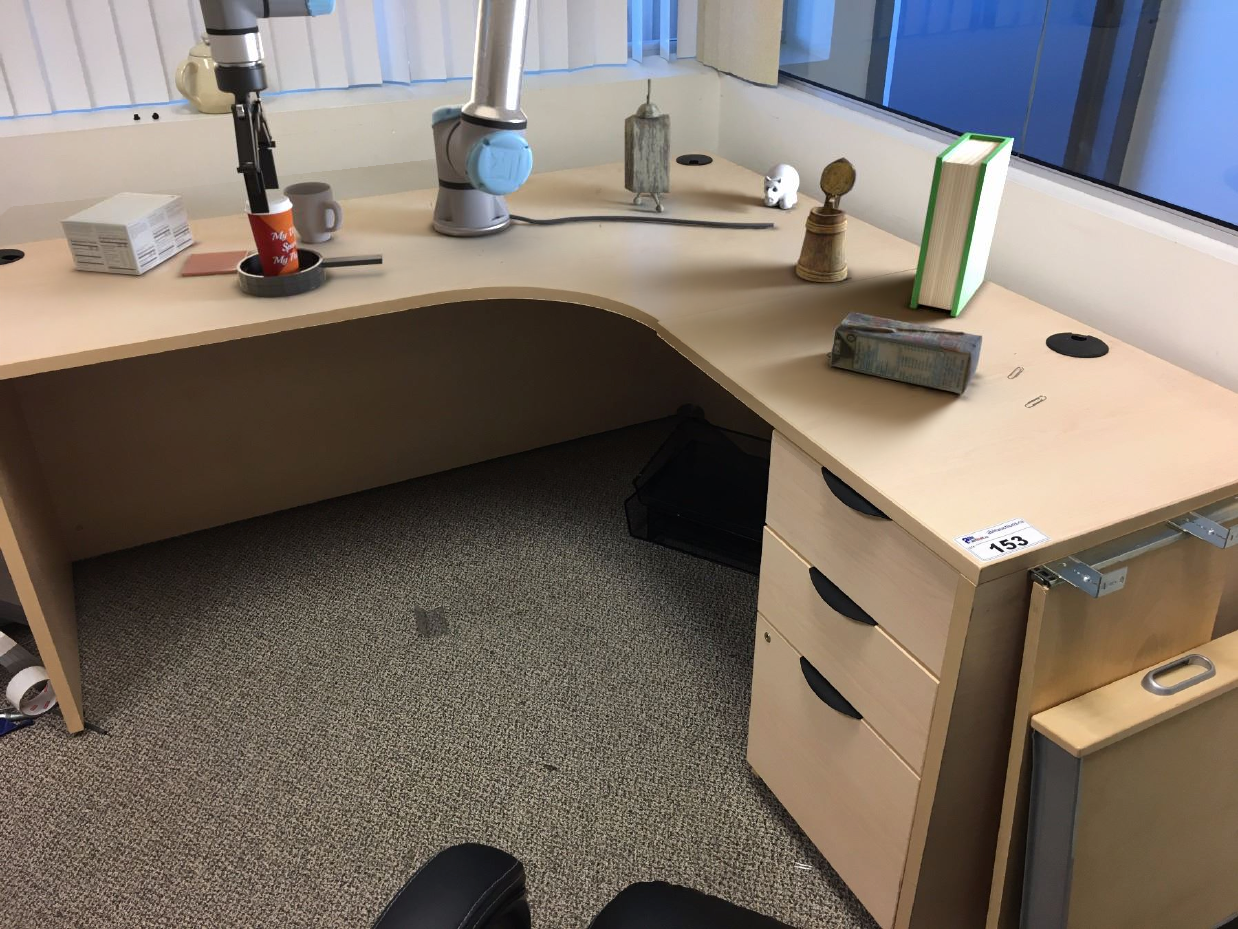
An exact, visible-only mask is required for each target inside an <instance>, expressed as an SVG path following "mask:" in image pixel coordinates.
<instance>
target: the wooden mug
mask: <svg viewBox="0 0 1238 929" xmlns="http://www.w3.org/2000/svg"><path fill="white" fill-rule="evenodd" d="M856 182H857V171H856V168H855V166H854V165H853V163H852V162H850V161H849V160H848V159H847V158H846V157H840V158H838V159H836V160H834V161H832V162H830V163H829V164H827V165H826V166H825V167H824V168H823V171H822V173H821V175H820V181H819V186H820V189H821V191H822V192H823V194H824V195H825V199H824V204H823V206H814V207H811V208H810V209H809V210H810V211H809V214H808V216H807V217H806V221H805V232H804V233H805V234H804V238H803V242H802V245H801V250H800V254H799V257H798V259H797V262H796V270H795V271H796V272H795V273H796V275H797V276H798V277H800V278H802V279H803V280H807V281H810V282H816V283H835V282H840V281H843V280H844V279H846V278H847V276H848V264H847V260H846V258H847V257H846V254H847V253H846V252H847V251H846V229H847V228H848V219H847V216H846V213H847V212H846V210H844V209H841V208H839V207H840V203H841V198H842V197H843V196H846V195H847V194H848V193H850V192H852V190H853V189H854V187H855V185H856Z"/></svg>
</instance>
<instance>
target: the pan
mask: <svg viewBox="0 0 1238 929" xmlns="http://www.w3.org/2000/svg"><path fill="white" fill-rule="evenodd" d="M296 249H297V256H298V264H299V272H297V273H293V274H288V275H282V276H265V275H264V271H263V268H262V264H261V261H260V257H259V254H258V252H256V253H253V254H251V255H247V257H246V258H244V259H242V260H241V261H240V262H238V264H237V266H236V270H237V278H238V282H239V287H240V289H241V290H242V291H243V292H244V293H245V294H247V295H251V296H254V297H261V298H282V297H290V296H296V295H301V294H304V293H307V292H310V291H312V290H315V289H316V288H319V287H320V286H322V285H323V284H324V283H325V282H326V280H327V271H326V268H323V258H324V256H323V255H322V254H321V252H318V251H316V250H313V249H308V248H303V247H302V248H301V247H296Z"/></svg>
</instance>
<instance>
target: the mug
mask: <svg viewBox="0 0 1238 929" xmlns="http://www.w3.org/2000/svg"><path fill="white" fill-rule="evenodd" d="M282 192H283V195H285V196H287V197H288V198H289V201H290V202H291V203H292V205H293V206H292V208H291V211H292V219H293V226H294V230H296V232H297V234H299V237H300V238H301V241H303V242H304V243H308V244H317V243H322V242H326V241H328V240H330V239H331V234H332V233H335V232H337V231H339V230H340V229H341V228H342V225H343V220H344V215H343V210H342V207H341V205H340V204H339V202H338V201H336V200H334V194H333V189H332V186H331V184H329V183H326V182H319V181H307V182H298V183H294V184H291V185H288V186H286V187H285V188H284V189H283V191H282Z"/></svg>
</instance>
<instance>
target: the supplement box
mask: <svg viewBox="0 0 1238 929" xmlns="http://www.w3.org/2000/svg"><path fill="white" fill-rule="evenodd" d="M189 222H190V221H189V218H188V215H187V210H186V207H185V203H184V200H183V196H181V195H174V194H159V193H158V194H156V193H141V192H140V193H139V192H127V191H124V192H122V191H121V192H119V193H116V194H115V195H112V196H110V197H108V198H106V199H104V200H102V201H100V202H98V203H95V204H94V205H91V206H90V207H87V208H85V209H83V210H81V211H79V212H77V213H74V214H72V215H70V216H68V217H66V218H63V219H61V220H60V224H61V227H62V230H63V232H64V235H65V238H66V241H67V245H68V248H69V250H70V253H71V256H72V259H73V262H74V264H75V268H76V270H77V271H85V272H86V271H87V272H98V273H108V274H110V273H111V274H120V275H121V274H123V275H133V276H141V275H143V274H144V273H146V272H148V271H149V270H151V269H152V268H154V267H156V266H157V265H159V264H161V263H163V262H165V261H166V260H168V259H169V258H171V257H173V256H174V255H176V254H178V253H179V252H181V251H183V250H184V249H186V248H188V247H189V246H191V245H193V244H194V243H195V240H194V236H193V233H192V229H191V226H190V223H189Z"/></svg>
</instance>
